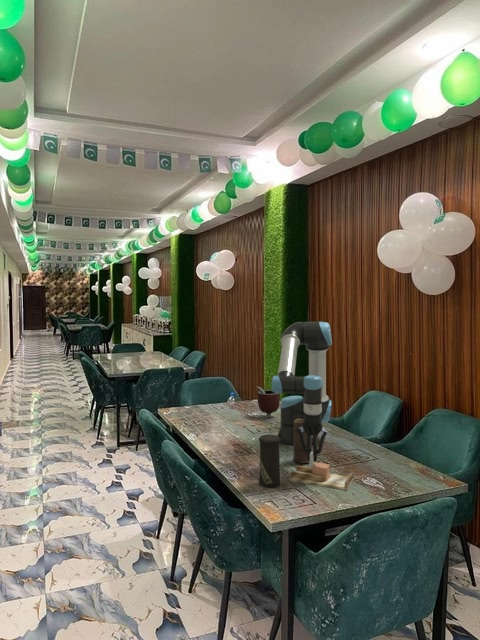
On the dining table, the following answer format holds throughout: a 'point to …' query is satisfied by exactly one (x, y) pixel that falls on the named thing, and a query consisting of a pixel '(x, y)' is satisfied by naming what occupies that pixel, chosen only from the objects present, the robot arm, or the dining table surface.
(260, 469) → the container
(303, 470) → the chute
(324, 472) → the block
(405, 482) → the dining table surface
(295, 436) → the candle
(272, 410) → the mate gourd
